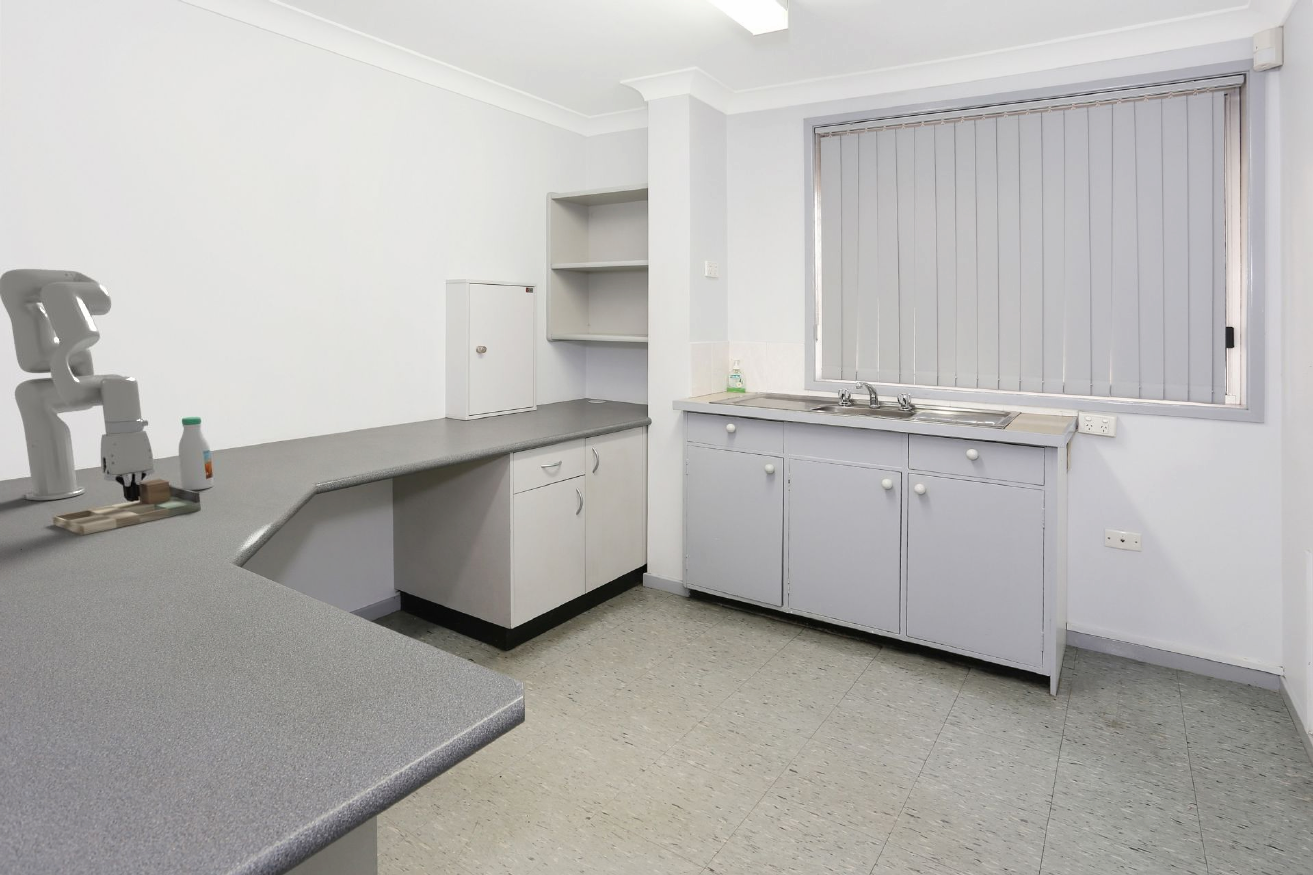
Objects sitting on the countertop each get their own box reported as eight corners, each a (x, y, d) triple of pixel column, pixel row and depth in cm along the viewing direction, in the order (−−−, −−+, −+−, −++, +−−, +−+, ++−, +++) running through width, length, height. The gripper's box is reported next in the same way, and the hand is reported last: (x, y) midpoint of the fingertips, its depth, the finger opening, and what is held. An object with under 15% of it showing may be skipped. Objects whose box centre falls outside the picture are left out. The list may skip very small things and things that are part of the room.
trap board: (53, 524, 182) (51, 505, 181) (170, 501, 203) (169, 484, 203) (81, 535, 174) (79, 515, 173) (200, 509, 195) (199, 492, 195)
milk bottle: (199, 491, 214) (192, 420, 211) (175, 490, 216) (168, 419, 212) (220, 485, 222) (213, 416, 218) (196, 483, 223) (190, 415, 220)
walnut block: (139, 501, 195) (137, 482, 194) (161, 497, 199) (159, 478, 198) (149, 504, 192) (147, 485, 192) (170, 500, 197) (168, 481, 196)
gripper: (150, 422, 197) (158, 492, 200) (81, 430, 184) (91, 504, 188) (164, 424, 193) (172, 496, 196) (95, 433, 180) (105, 509, 183)
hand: (132, 500), depth 192 cm, fingers closed
